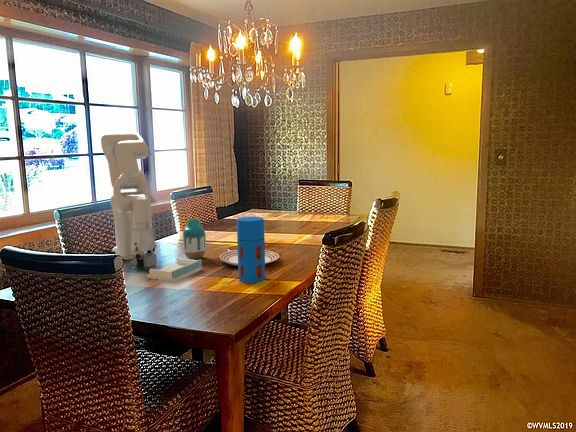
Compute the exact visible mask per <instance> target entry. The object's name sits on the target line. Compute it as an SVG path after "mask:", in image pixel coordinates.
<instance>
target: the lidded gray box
mask: <svg viewBox="0 0 576 432" xmlns="http://www.w3.org/2000/svg"><path fill="white" fill-rule="evenodd" d="M139 256H140V253H139ZM142 259H143V265H144V271H145V272H148V271H149V269H155V268H156V265H157V263H158V262H157V261H158V260H157V254H156V253H154V254H153V253H147V252H143V256H142ZM132 260H133V266H135V267H134V268H135V270H141V269H142V268H138V267H137V259H136V258H135V257H134V256H133V259H132Z"/></svg>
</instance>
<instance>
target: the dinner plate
mask: <svg viewBox="0 0 576 432" xmlns="http://www.w3.org/2000/svg"><path fill="white" fill-rule="evenodd" d="M279 258H280V255H279V254H278V253H276V252H274V251H270V250H266V249H265V265H268V264H271V263H272V262H275V261H277V260H278V259H279ZM219 259H220V260H221V261H223V262H224V263H227V264H229V265H232V266H235V267H238V249H235V250H230V251H226V252H222V253H221V254H220V255H219Z"/></svg>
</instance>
